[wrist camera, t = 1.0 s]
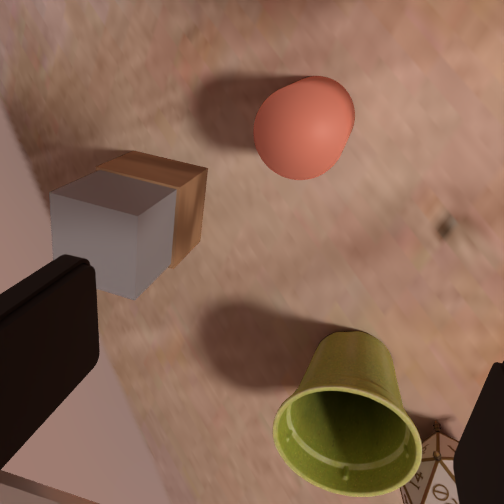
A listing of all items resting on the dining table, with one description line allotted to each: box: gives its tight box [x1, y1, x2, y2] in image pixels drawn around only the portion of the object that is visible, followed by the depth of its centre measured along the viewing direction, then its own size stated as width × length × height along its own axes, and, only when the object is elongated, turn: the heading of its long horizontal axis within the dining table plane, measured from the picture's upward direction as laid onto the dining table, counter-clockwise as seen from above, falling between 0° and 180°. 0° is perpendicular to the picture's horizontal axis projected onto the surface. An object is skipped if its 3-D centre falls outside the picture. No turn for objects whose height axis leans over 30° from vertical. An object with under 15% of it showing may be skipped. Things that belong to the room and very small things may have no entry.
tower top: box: [49, 170, 177, 300], centre depth 28 cm, size 6×6×5 cm
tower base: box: [96, 151, 208, 269], centre depth 32 cm, size 6×6×5 cm
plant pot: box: [273, 331, 422, 497], centre depth 32 cm, size 9×9×9 cm
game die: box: [400, 420, 459, 504], centre depth 34 cm, size 9×8×10 cm
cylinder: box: [253, 76, 355, 180], centre depth 27 cm, size 5×5×6 cm
